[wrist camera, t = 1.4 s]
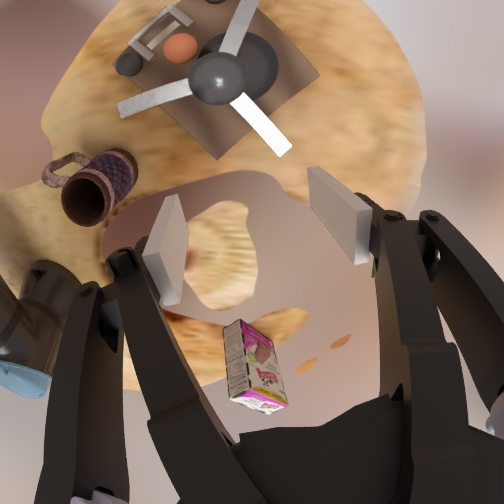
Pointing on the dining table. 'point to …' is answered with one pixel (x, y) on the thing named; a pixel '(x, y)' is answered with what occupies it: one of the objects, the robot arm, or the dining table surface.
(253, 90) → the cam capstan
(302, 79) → the walnut stand
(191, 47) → the ball
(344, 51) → the dining table surface
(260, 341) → the candy bar box
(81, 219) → the mug
